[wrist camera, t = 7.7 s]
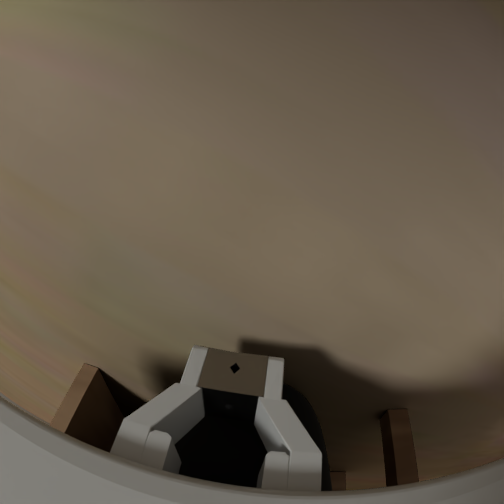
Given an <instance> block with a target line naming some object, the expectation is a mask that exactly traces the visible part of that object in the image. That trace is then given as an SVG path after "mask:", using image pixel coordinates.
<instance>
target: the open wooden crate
mask: <svg viewBox="0 0 504 504" xmlns="http://www.w3.org/2000/svg"><path fill="white" fill-rule="evenodd" d="M123 419H124V416H123V415H122V413H121V411H120V409H119V407H118V406H117V404H116V402H115V400H114V398H113V396H112V395H111V393H110V391H109V389H108V387H107V385H106V383H105V381H104V379H103V377H102V375H101V373H100V371H99V369H98V368H96V367H93V366H90V365H87V364H85V363H84V365H83V366H82V368H81V370H80V371H79V373H78V375H77V376H76V378H75V380H74V382H73V383H72V385H71V387H70V389H69V391H68V392H67V394H66V396H65V398H64V399H63V401H62V403H61V405H60V407H59V409H58V411H57V412H56V414H55V416H54V418H53V420H52V422H51V424H50V426H51V427H53V428H55V429H57V430H59V431H61V432H63V433H65V434H67V435H69V436H71V437H73V438H76V439H78V440H80V441H82V442H85V443H87V444H89V445H92V446H94V447H96V448H99V449H101V450H104V451H106V452H109V453H110V451H111V448H112V446H113V443H114V441H115V438H116V436H117V434H118V431H119V429H120V426H121V424H122V422H123ZM380 426H381V434H382V443H383V452H384V462H385V473H386V487H390V486H397V485H403V484H409V483H415V482H419V478H418V470H417V463H416V456H415V450H414V444H413V438H412V432H411V426H410V421H409V416H408V411H407V409H393V410H387V412H386V413H385V414H384V415H383V417H382V418H381V419H380ZM330 477H331V484H332V491H345V490H346V474H345V472H330Z"/></svg>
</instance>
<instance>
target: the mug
mask: <svg viewBox="0 0 504 504" xmlns="http://www.w3.org/2000/svg"><path fill="white" fill-rule="evenodd" d="M282 399H283V400H287V402H288V403H289V405H290V406H291V408H292V409H293V411H294V413H295V414H296V416H297V417H298V419H299V420H300V422H301V423H302V425H303V426H304V428H305V429H306V431H307V432H308V434H309V435H310V437H311V438H312V440H313V441H314V443H315V444H316V445H317V447H318V448H319V450H320V451H321V453H322V472H321V491H332V484H331V477H330V470H329V464H328V458H327V453H326V448H325V443H324V439H323V435H322V431H321V428H320V424H319V422H318V419H317V417H316V414H315V412H314V410H313V409H312V407H311V405H310V404H309V402H308V401H307V400H306V398H305V397H304V396H303V395H302V394H300V393H299V392H298V391H296V390H295V389H293V388H292V387H290V386H288V385H286V384H284V383H283V389H282ZM204 416H205V417H204V418H202V419H201V420H200V421H199V422H198V423H197V424H196V425H195V426H194V427H193V428H192V429H191V430H190V431H189V432H188V433H187V434H185V435H184V436H183V437H182V438H181V439H180V440H179V441H178V442H177V443H176V444H174V445H175V448H176V450H177V453H178V455H179V457H180V460H181V466H180V470H179V475H184V476H188V477H192V478H197V479H202V480H207V481H212V482H218V483H224V484H230V485H237V486H244V487H253V488H256V487H257V481H258V475H259V472H260V470H261V467H262V464H263V462H264V459H265V456H266V454H267V453H268V452H267V450H266V448H265V446H264V444H263V442H262V440H261V438H260V436H259V434H258V432H257V430H256V427H255V425H254V423H251V422H244V421H238V420H233V419H227V418H220V417H213V416H207V415H204Z"/></svg>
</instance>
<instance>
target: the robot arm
mask: <svg viewBox="0 0 504 504" xmlns="http://www.w3.org/2000/svg"><path fill="white" fill-rule="evenodd" d="M283 375H284V358H279V357H270V356H269V357H268V356H264V355H255V354H247V353H236V352H230V351H225V350H219V349H214V348H209V347H203V346H198V345H194V346H193V348H192V350H191V353H190V355H189V358H188V361H187V364H186V367H185V370H184V373H183V376H182V379H181V381H180V383H174V384H173V385H171V386H170V387H169V388H167V389H166V390H165V391H163V392H162V393H160V394H159V395H158V396H156V397H155V398H153V399H152V400H150V401H149V402H148V403H146V404H145V405H143V406H142V407H140V408H139V409H138V410H136V411H135V412H133V413H132V414H130V415H129V416H127V417H126V418H124V419H123V422H122V424H121V426H120V429H119V431H118V434H117V436H116V438H115V441H114V443H113V446H112V448H111V451H110V453H109V452H106V451H104V450H101V449H99V448H96V447H94V446H92V445H89V444H87V443H85V442H82V441H80V440H78V439H76V438H73V437H71V436H69V435H67V434H65V433H63V432H61V431H59V430H57V429H55V428H53V427H51V426H49V425H47V424H45V423H44V422H42V421H40V420H38V419H36V418H35V417H33V416H31V415H29V414H28V413H26V412H24V411H23V410H21V409H19V408H18V407H16V406H14V405H13V404H11V403H10V402H8V401H7V400H5V399H4V398H2V397H1V396H0V504H504V458H502V459H499V460H496V461H494V462H491V463H488V464H485V465H482V466H479V467H476V468H473V469H469V470H466V471H463V472H459V473H455V474H451V475H448V476H443V477H439V478H435V479H430V480H425V481H420V482H415V483H409V484H403V485H397V486H390V487H381V488H372V489H361V490H345V491H321V472H322V453H321V451H320V450H319V448H318V447H317V445H316V444H315V443H314V441H313V440H312V438H311V437H310V435H309V434H308V432H307V431H306V429H305V428H304V426H303V425H302V423H301V422H300V420H299V419H298V417H297V416H296V414H295V413H294V411H293V409H292V408H291V406H290V405H289V403H288V402H287V400H283V399H282V389H283ZM204 415H207V416H213V417H220V418H227V419H233V420H238V421H244V422H251V423H254V425H255V427H256V430H257V432H258V434H259V436H260V438H261V440H262V442H263V444H264V446H265V448H266V450H267V452H268V453H267V454H266V456H265V459H264V462H263V464H262V467H261V470H260V472H259V475H258V481H257V487H256V488H253V487H244V486H237V485H230V484H224V483H218V482H212V481H207V480H202V479H197V478H192V477H188V476H184V475H179V470H180V466H181V460H180V457H179V455H178V453H177V450H176V448H175V445H174V444H176V443H177V442H178V441H179V440H180V439H181V438H182V437H183V436H184V435H185V434H187V433H188V432H189V431H190V430H191V429H192V428H193V427H194V426H195V425H196V424H197V423H198V422H199V421H200V420H201V419H202V418H204V417H205V416H204Z"/></svg>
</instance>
